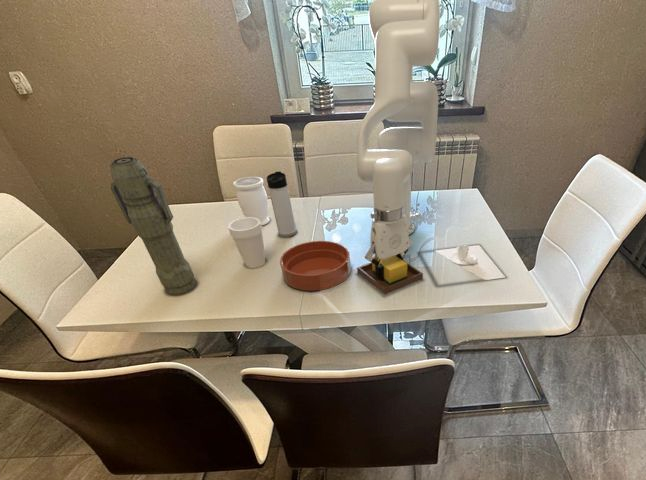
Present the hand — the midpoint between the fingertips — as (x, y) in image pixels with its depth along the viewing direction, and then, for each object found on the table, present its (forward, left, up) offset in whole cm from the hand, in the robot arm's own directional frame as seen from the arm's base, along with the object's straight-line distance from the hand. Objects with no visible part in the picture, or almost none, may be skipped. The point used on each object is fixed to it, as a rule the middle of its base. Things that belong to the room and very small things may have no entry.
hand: (389, 272), depth 109 cm
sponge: (0, 0, -1) cm, 1 cm away
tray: (0, 0, -1) cm, 1 cm away
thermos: (+52, -33, -2) cm, 62 cm away
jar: (+17, -62, -2) cm, 64 cm away
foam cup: (+29, -33, -2) cm, 44 cm away
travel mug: (+12, -46, -2) cm, 48 cm away
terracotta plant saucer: (+16, -15, -1) cm, 22 cm away
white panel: (-21, +7, -2) cm, 22 cm away
